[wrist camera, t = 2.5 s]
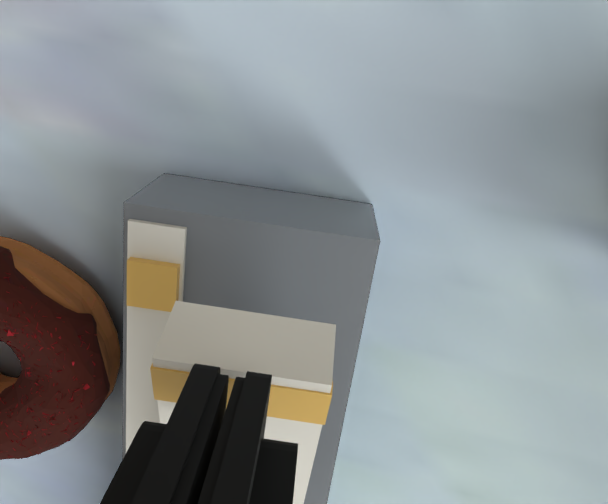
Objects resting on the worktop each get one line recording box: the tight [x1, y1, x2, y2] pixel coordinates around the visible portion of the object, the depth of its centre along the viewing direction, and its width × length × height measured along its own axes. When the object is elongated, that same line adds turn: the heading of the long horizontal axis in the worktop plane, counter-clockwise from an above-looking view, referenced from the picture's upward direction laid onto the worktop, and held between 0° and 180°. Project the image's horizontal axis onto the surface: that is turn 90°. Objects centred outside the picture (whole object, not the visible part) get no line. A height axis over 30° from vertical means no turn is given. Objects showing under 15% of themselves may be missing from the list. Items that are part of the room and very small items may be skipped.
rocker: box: [150, 301, 336, 504], centre depth 16 cm, size 4×11×2 cm, turn 172°
